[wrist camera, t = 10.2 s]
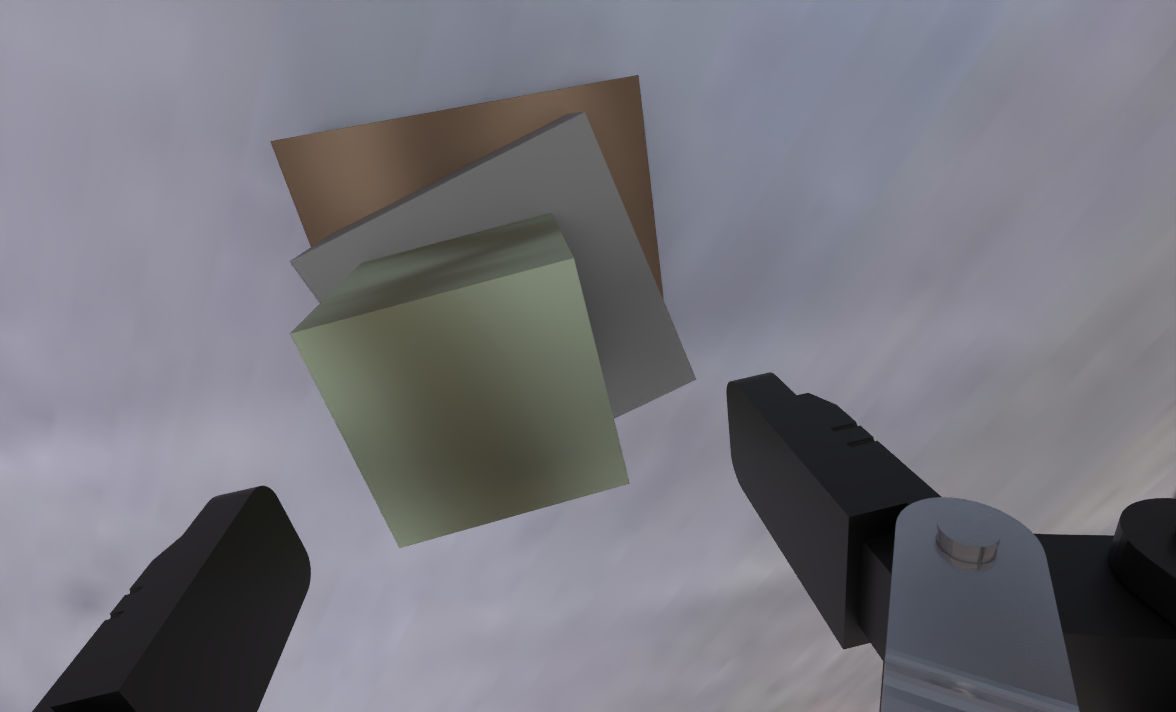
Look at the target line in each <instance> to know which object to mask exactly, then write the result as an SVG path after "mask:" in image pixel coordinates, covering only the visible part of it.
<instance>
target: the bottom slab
mask: <svg viewBox="0 0 1176 712" xmlns="http://www.w3.org/2000/svg"><path fill="white" fill-rule="evenodd" d="M579 112H585V114H586V116H587V118H588V121H589V123H590V126H591V128H592V130H593V133H594V135H595V138H596V140H597V142H598V145H599V147H600V150H601V152H602V154H603V157H604V159H605V162H606V164H607V166H608V169H609V171H610V174H611V176H612V178H613V181H614V183H615V186H616V188H617V190H618V193H619V195H620V198H621V200H622V203H623V205H624V207H625V210H626V212H627V215H628V217H629V219H630V222H631V224H632V227H633V229H634V231H635V234H636V236H637V239H638V241H639V243H640V246H641V248H642V251H643V253H644V255H645V258H646V260H647V263H648V265H649V267H650V270H651V272H652V275H653V277H654V279H655V282H656V284H657V287H658V289H659V291H660V294H661V296H662V299H663V291H662V282H661V273H660V264H659V255H658V246H657V237H656V228H655V219H654V210H653V201H652V192H651V183H650V174H649V166H648V157H647V148H646V139H645V130H644V121H643V112H642V103H641V94H640V85H639V76H638V75H636V76H630V77H625V78H619V79H614V80H608V81H603V82H597V83H592V84H586V85H580V86H575V87H569V88H564V89H558V90H553V91H547V92H542V93H536V94H530V95H525V96H519V97H514V98H508V99H503V100H497V101H491V102H486V103H480V104H475V105H469V106H464V107H458V108H453V109H447V110H441V111H436V112H430V113H425V114H419V115H414V116H408V117H403V118H397V119H391V120H386V121H380V122H375V123H369V124H364V125H358V126H352V127H347V128H341V129H336V130H330V131H325V132H319V133H314V134H308V135H302V136H297V137H291V138H286V139H280V140H275V141H270V142H271V144H272V147H273V149H274V152H275V155H276V157H277V160H278V162H279V165H280V168H281V170H282V173H283V175H284V178H285V181H286V183H287V186H288V188H289V191H290V194H291V196H292V199H293V201H294V204H295V207H296V209H297V212H298V214H299V217H300V220H301V222H302V225H303V227H304V230H305V233H306V235H307V238H308V240H309V243H310V245H311V247H313V246H314V245H316V244H317V243H319V242H320V241H322V240H323V239H325V238H326V237H328V236H329V235H331V234H333V233H334V232H336V231H338V230H340V229H342V228H344V227H346V226H348V225H350V224H352V223H354V222H356V221H358V220H360V219H362V218H364V217H366V216H368V215H370V214H372V213H374V212H376V211H378V210H380V209H382V208H384V207H386V206H388V205H390V204H392V203H394V202H396V201H397V200H399V199H401V198H403V197H405V196H407V195H409V194H411V193H413V192H415V191H417V190H419V189H421V188H423V187H425V186H427V185H429V184H431V183H433V182H435V181H437V180H439V179H441V178H443V177H445V176H447V175H449V174H451V173H453V172H455V171H457V170H458V169H460V168H462V167H464V166H466V165H468V164H470V163H472V162H474V161H476V160H478V159H480V158H482V157H484V156H486V155H488V154H490V153H492V152H494V151H496V150H498V149H500V148H502V147H504V146H506V145H508V144H510V143H512V142H514V141H516V140H518V139H520V138H521V137H523V136H525V135H527V134H529V133H531V132H533V131H535V130H537V129H539V128H541V127H543V126H545V125H547V124H549V123H551V122H553V121H555V120H557V119H559V118H561V117H563V116H565V115H567V114H570V113H579ZM663 301H664V300H663Z"/></svg>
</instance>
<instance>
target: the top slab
mask: <svg viewBox="0 0 1176 712" xmlns="http://www.w3.org/2000/svg"><path fill="white" fill-rule="evenodd" d="M549 213H552V215H553V217H554V219H555V221H556V223H557V225H558V227H559V229H560V231H561V233H562V235H563V237H564V239H565V241H566V243H567V245H568V247H569V249H570V251H571V253H572V255H573V257H574V261H575V265H576V269H577V273H578V277H579V281H580V285H581V289H582V293H583V297H584V301H585V305H586V309H587V313H588V317H589V321H590V325H591V329H592V333H593V337H594V341H595V345H596V349H597V353H598V358H599V362H600V366H601V370H602V374H603V378H604V382H605V386H606V390H607V394H608V398H609V402H610V406H611V410H612V414H613V418H616V417H618V416H620V415H622V414H624V413H627V412H629V411H631V410H633V409H635V408H637V407H639V406H641V405H643V404H645V403H648V402H650V401H652V400H654V399H656V398H658V397H660V396H662V395H664V394H666V393H669V392H671V391H673V390H675V389H677V388H679V387H681V386H683V385H685V384H687V383H690V382H692V381H694V380H696V378H695V375H694V373H693V371H692V368H691V366H690V363H689V361H688V359H687V356H686V354H685V351H684V349H683V347H682V344H681V342H680V339H679V337H678V335H677V332H676V330H675V327H674V325H673V323H672V320H671V318H670V315H669V313H668V311H667V308H666V306H665V303H664V301H663V299H662V296H661V294H660V291H659V289H658V287H657V284H656V282H655V279H654V277H653V275H652V272H651V270H650V267H649V265H648V263H647V260H646V258H645V255H644V253H643V251H642V248H641V246H640V243H639V241H638V239H637V236H636V234H635V231H634V229H633V227H632V224H631V222H630V219H629V217H628V215H627V212H626V210H625V207H624V205H623V203H622V200H621V198H620V195H619V193H618V190H617V188H616V186H615V183H614V181H613V178H612V176H611V174H610V171H609V169H608V166H607V164H606V162H605V159H604V157H603V154H602V152H601V150H600V147H599V145H598V142H597V140H596V138H595V135H594V133H593V130H592V128H591V126H590V123H589V121H588V118H587V116H586V114H585V112H579V113H570V114H567V115H565V116H563V117H561V118H559V119H557V120H555V121H553V122H551V123H549V124H547V125H545V126H543V127H541V128H539V129H537V130H535V131H533V132H531V133H529V134H527V135H525V136H523V137H521V138H520V139H518V140H516V141H514V142H512V143H510V144H508V145H506V146H504V147H502V148H500V149H498V150H496V151H494V152H492V153H490V154H488V155H486V156H484V157H482V158H480V159H478V160H476V161H474V162H472V163H470V164H468V165H466V166H464V167H462V168H460V169H458V170H457V171H455V172H453V173H451V174H449V175H447V176H445V177H443V178H441V179H439V180H437V181H435V182H433V183H431V184H429V185H427V186H425V187H423V188H421V189H419V190H417V191H415V192H413V193H411V194H409V195H407V196H405V197H403V198H401V199H399V200H397V201H396V202H394V203H392V204H390V205H388V206H386V207H384V208H382V209H380V210H378V211H376V212H374V213H372V214H370V215H368V216H366V217H364V218H362V219H360V220H358V221H356V222H354V223H352V224H350V225H348V226H346V227H344V228H342V229H340V230H338V231H336V232H334V233H333V234H331V235H329V236H328V237H326V238H325V239H323V240H322V241H320V242H319V243H317V244H316V245H314V246H313V247H311V248H310V249H308V250H306V251H305V252H303V253H302V254H300V255H299V256H297V257H296V258H294V259H293V260H291V261H290V263H291V264H292V266H293V267H294V268H295V270H296V271H297V272H298V274H299V275H300V277H301V278H302V279H303V281H304V282H305V283H306V285H307V286H308V288H309V289H310V290H311V292H312V293H313V294H314V296H315V297H316V299H317V300H318V301H319V303H321V302H322V301H323V300H324V299H325V298H326V297H327V296H328V295H329V294H330V293H331V292H332V291H333V290H334V289H335V288H336V287H337V286H338V285H339V284H340V283H341V282H342V281H343V280H344V279H345V278H346V277H347V276H348V275H350V274H351V273H352V272H353V271H354V270H355V269H356V268H357V267H358V266H359V265H360V264H361V263H362V262H366V261H370V260H374V259H378V258H381V257H385V256H389V255H393V254H397V253H400V252H404V251H408V250H412V249H416V248H419V247H423V246H427V245H431V244H434V243H438V242H442V241H446V240H450V239H453V238H457V237H461V236H465V235H469V234H473V233H476V232H480V231H484V230H488V229H492V228H495V227H499V226H503V225H507V224H511V223H514V222H518V221H522V220H526V219H530V218H533V217H537V216H541V215H545V214H549Z"/></svg>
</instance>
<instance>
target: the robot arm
mask: <svg viewBox="0 0 1176 712" xmlns="http://www.w3.org/2000/svg"><path fill="white" fill-rule="evenodd" d="M727 407H728V420H729V434H730V447H731V457H732V463H733V467H734V470H735V474H736V476H737V479H738V482H739V484H740V486H741V488H742V490H743V491H744V493H745V494H746V496H747V498H748V499H749V501H750V502H751V504H752V505H753V507H754V509H755V510H756V512H757V513H758V515H759V517H760V518H761V520H762V521H763V523H764V524H765V526H766V528H767V529H768V531H769V532H770V534H771V536H772V537H773V539H774V540H775V542H776V544H777V545H778V547H779V548H780V550H781V551H782V553H783V555H784V556H785V558H786V559H787V561H788V563H789V564H790V566H791V567H792V569H793V570H794V572H795V574H796V575H797V577H798V578H799V580H800V582H801V583H802V585H803V586H804V588H805V590H806V591H807V593H808V594H809V596H810V597H811V599H812V601H813V602H814V604H815V605H816V607H817V609H818V610H819V612H820V613H821V615H822V616H823V618H824V620H825V621H826V623H827V624H828V626H829V628H830V629H831V631H832V632H833V634H834V635H835V637H836V639H837V640H838V642H839V643H840V645H841V647H842V648H843V649H847V648H851V647H855V646H859V645H863V644H867V643H871V644H872V646H873V647H874V648H875V650H876V651H877V653H878V654H879V656H880V657H881V659H882V660H883V671H882V684H881V696H880V709H879V712H1176V499H1173V498H1155V499H1147V500H1142V501H1139V502H1135V503H1133V504H1131V505H1129V506H1128V507H1127V508H1126V509H1124V510H1123V512H1122V514H1121V516H1120V519H1119V522H1118V525H1117V528H1116V531H1115V535H1114V536H1108V535H1057V534H1033V533H1032V532H1031V531H1030V530H1029V529H1028V528H1027V527H1026V526H1024V525H1023V524H1022V523H1021V522H1019V521H1018V520H1016V519H1015V518H1013V517H1012V516H1010V515H1008V514H1006V513H1004V512H1002V511H1000V510H998V509H996V508H993V507H991V506H988V505H985V504H982V503H979V502H975V501H971V500H966V499H960V498H951V497H941V496H940V495H939V494H938V493H936V492H935V491H934V490H933V489H932V488H931V487H930V486H928V485H927V484H926V483H925V482H924V481H923V480H922V479H920V478H919V477H918V476H917V475H916V474H915V473H914V472H912V471H911V470H910V469H909V468H908V467H907V466H906V465H905V464H903V463H902V462H901V461H900V460H899V459H898V458H897V457H895V456H894V455H893V454H892V453H891V452H890V451H889V450H887V449H886V448H885V447H884V446H883V445H882V444H881V443H879V442H878V441H874V439H873V436H871V435H870V434H869V433H868V432H867V431H866V430H865V429H863V428H862V427H861V426H857V424H856V422H855V421H854V420H853V419H852V418H851V417H850V416H849V415H848V414H846V413H845V412H844V411H843V410H842V409H841V408H840V407H838V406H837V405H836V404H833V403H831V402H829V401H826V400H824V399H822V398H819V397H817V396H815V395H812V394H810V393H805V394H801V395H796V394H795V393H794V392H793V391H791V390H790V389H789V388H788V387H787V386H786V385H785V384H784V383H783V382H782V381H781V380H780V379H779V378H778V377H777V376H776V375H775V374H773V373H765V374H761V375H756V376H752V377H748V378H743V379H739V380H734V381H730V382H729V383H728V385H727ZM310 578H311V568H310V561H309V557H308V554H307V552H306V549H305V548H304V546H303V544H302V542H301V540H300V538H299V536H298V535H297V533H296V531H295V529H294V527H293V525H292V523H291V521H290V520H289V518H288V516H287V514H286V512H285V510H284V508H283V507H282V505H281V503H280V501H279V499H278V497H277V496H276V494H275V493H274V491H273V490H272V489H270V488H269V487H267V486H259V487H254V488H250V489H245V490H241V491H237V492H232V493H228V494H223V495H219V496H216V497H214V498H212V499H211V500H210V501H209V502H208V503H207V504H206V506H205V507H204V508H203V509H202V511H201V512H200V513H199V515H198V516H197V517H196V519H195V520H194V521H193V522H192V524H191V525H190V526H189V528H188V529H187V530H186V532H185V533H184V534H183V535H182V536H181V537H180V538H179V539H178V540H176V541H175V542H174V543H173V544H172V545H170V546H169V547H168V548H167V549H166V550H165V551H163V552H162V553H161V554H160V555H159V556H157V557H156V558H155V559H154V560H153V561H152V562H151V563H150V564H149V566H148V567H147V568H146V569H145V571H144V572H143V573H142V574H141V576H140V577H139V578H138V579H137V581H136V582H135V583H134V584H133V586H132V587H131V588H130V589H129V590H130V594H128V595H125V596H124V597H123V598H122V599H121V601H120V602H119V603H118V604H117V606H116V607H115V608H114V610H113V611H112V612H111V613H110V615H111V618H110V619H109V620H105V621H104V622H103V623H102V625H101V626H100V627H99V628H98V630H97V631H96V632H95V633H94V635H93V636H92V637H91V638H90V640H89V641H88V642H87V643H86V645H85V646H84V647H83V648H82V650H81V651H80V652H79V654H78V655H77V656H76V657H75V659H74V660H73V661H72V662H71V664H70V665H69V666H68V667H67V669H66V670H65V671H64V672H63V674H62V675H61V676H60V677H59V679H58V680H57V681H56V682H55V684H54V685H53V686H52V687H51V689H50V690H49V691H48V692H47V694H46V695H45V696H44V698H43V699H42V700H41V701H40V703H39V704H38V705H37V706H36V708H35V709H34V710H33V711H32V712H257V711H258V709H259V706H260V704H261V701H262V699H263V697H264V694H265V692H266V689H267V687H268V685H269V682H270V680H271V678H272V675H273V673H274V670H275V668H276V666H277V663H278V661H279V658H280V656H281V654H282V651H283V649H284V646H285V644H286V642H287V639H288V637H289V634H290V632H291V630H292V627H293V625H294V623H295V620H296V618H297V615H298V613H299V611H300V608H301V606H302V603H303V601H304V599H305V596H306V594H307V591H308V588H309V585H310Z"/></svg>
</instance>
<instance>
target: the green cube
mask: <svg viewBox="0 0 1176 712" xmlns="http://www.w3.org/2000/svg"><path fill="white" fill-rule="evenodd" d="M290 335H291V337H292V338H293V340H294V342H295V344H296V346H297V348H298V350H299V352H300V354H301V356H302V358H303V360H304V362H305V364H306V366H307V368H308V370H309V372H310V374H311V376H312V378H313V380H314V382H315V384H316V385H317V387H318V389H319V391H320V393H321V395H322V397H323V399H324V401H325V403H326V405H327V407H328V409H329V411H330V413H331V415H332V417H333V419H334V421H335V423H336V425H337V427H338V429H339V431H340V432H341V434H342V436H343V438H344V440H345V442H346V444H347V446H348V448H349V450H350V452H351V454H352V456H353V458H354V460H355V462H356V464H357V466H358V468H359V470H360V472H361V474H362V476H363V478H364V479H365V481H366V483H367V485H368V487H369V489H370V491H371V493H372V495H373V497H374V499H375V501H376V503H377V505H378V507H379V509H380V511H381V513H382V515H383V517H384V519H385V521H386V523H387V525H388V527H389V528H390V530H391V532H392V534H393V536H394V538H395V540H396V542H397V544H398V546H399V548H402V547H405V546H409V545H412V544H416V543H419V542H423V541H427V540H430V539H434V538H437V537H441V536H444V535H448V534H451V533H455V532H459V531H462V530H466V529H469V528H473V527H476V526H480V525H483V524H487V523H491V522H494V521H498V520H501V519H505V518H508V517H512V516H515V515H519V514H523V513H526V512H530V511H533V510H537V509H540V508H544V507H548V506H551V505H555V504H558V503H562V502H565V501H569V500H572V499H576V498H580V497H583V496H587V495H590V494H594V493H597V492H601V491H604V490H608V489H612V488H615V487H619V486H622V485H626V484H629V479H628V475H627V471H626V467H625V463H624V459H623V455H622V450H621V446H620V442H619V438H618V434H617V430H616V426H615V422H614V418H613V414H612V410H611V406H610V402H609V398H608V394H607V390H606V386H605V382H604V378H603V374H602V370H601V366H600V362H599V358H598V353H597V349H596V345H595V341H594V337H593V333H592V329H591V325H590V321H589V317H588V313H587V309H586V305H585V301H584V297H583V293H582V289H581V285H580V281H579V277H578V273H577V269H576V265H575V261H574V257H573V255H572V253H571V251H570V249H569V247H568V245H567V243H566V241H565V239H564V237H563V235H562V233H561V231H560V229H559V227H558V225H557V223H556V221H555V219H554V217H553V215H552V213H549V214H545V215H541V216H537V217H533V218H530V219H526V220H522V221H518V222H514V223H511V224H507V225H503V226H499V227H495V228H492V229H488V230H484V231H480V232H476V233H473V234H469V235H465V236H461V237H457V238H453V239H450V240H446V241H442V242H438V243H434V244H431V245H427V246H423V247H419V248H416V249H412V250H408V251H404V252H400V253H397V254H393V255H389V256H385V257H381V258H378V259H374V260H370V261H366V262H362V263H361V264H360V265H359V266H358V267H357V268H356V269H355V270H354V271H353V272H352V273H351V274H350V275H348V276H347V277H346V278H345V279H344V280H343V281H342V282H341V283H340V284H339V285H338V286H337V287H336V288H335V289H334V290H333V291H332V292H331V293H330V294H329V295H328V296H327V297H326V298H325V299H324V300H323V301H322V302H321V303H320V304H319V305H318V306H317V307H316V308H315V309H314V310H313V311H312V312H311V313H310V314H309V315H308V316H307V317H306V318H305V319H304V320H303V321H302V322H301V323H300V324H299V325H298V326H297V327H296V328H295V329H294V330H293V331H292V332H291V333H290Z"/></svg>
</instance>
